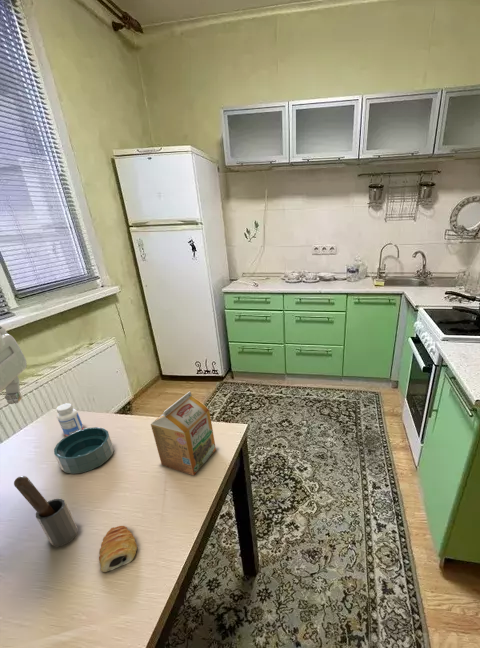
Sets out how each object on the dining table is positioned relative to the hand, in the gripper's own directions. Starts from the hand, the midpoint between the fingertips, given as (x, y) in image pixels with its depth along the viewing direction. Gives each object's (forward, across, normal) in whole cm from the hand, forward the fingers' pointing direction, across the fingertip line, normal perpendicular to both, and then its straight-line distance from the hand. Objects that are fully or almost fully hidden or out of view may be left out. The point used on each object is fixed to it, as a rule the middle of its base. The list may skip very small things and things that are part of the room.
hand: (2, 416), depth 56 cm
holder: (+32, 0, 0) cm, 32 cm away
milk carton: (+32, -18, +26) cm, 45 cm away
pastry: (+32, +7, +12) cm, 35 cm away
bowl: (+32, -26, -2) cm, 41 cm away
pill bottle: (+32, -41, -10) cm, 53 cm away
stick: (+31, 0, 0) cm, 31 cm away
